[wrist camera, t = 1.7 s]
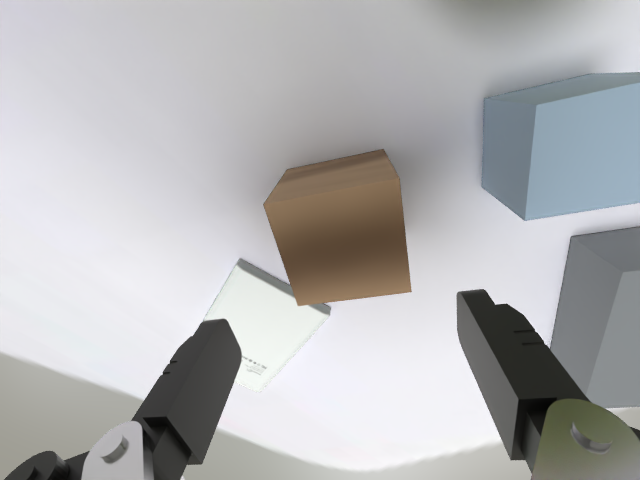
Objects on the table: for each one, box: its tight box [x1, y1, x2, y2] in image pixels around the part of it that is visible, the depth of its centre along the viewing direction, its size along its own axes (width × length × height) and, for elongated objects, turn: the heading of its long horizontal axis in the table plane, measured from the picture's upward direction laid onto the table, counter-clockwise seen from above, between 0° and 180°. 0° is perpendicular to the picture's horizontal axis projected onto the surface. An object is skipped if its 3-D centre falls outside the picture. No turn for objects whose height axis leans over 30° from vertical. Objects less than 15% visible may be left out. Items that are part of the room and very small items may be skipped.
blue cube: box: [482, 72, 640, 221], centre depth 14 cm, size 5×5×5 cm
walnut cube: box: [263, 149, 411, 306], centre depth 17 cm, size 6×6×6 cm
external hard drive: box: [203, 259, 331, 392], centre depth 25 cm, size 2×8×12 cm
